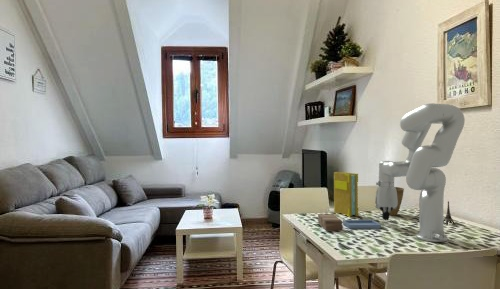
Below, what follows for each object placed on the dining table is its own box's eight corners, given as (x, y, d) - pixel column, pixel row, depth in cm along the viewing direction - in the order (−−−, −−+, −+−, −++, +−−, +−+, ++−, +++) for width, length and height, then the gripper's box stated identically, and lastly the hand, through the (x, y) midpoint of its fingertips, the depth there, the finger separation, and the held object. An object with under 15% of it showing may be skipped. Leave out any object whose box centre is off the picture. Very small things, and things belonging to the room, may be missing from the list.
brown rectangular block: (342, 230, 165) (342, 220, 165) (325, 230, 164) (325, 221, 164) (333, 222, 181) (333, 214, 181) (318, 223, 181) (318, 214, 181)
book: (358, 216, 197) (358, 173, 197) (349, 217, 195) (348, 174, 195) (340, 211, 213) (340, 171, 213) (331, 211, 211) (331, 172, 211)
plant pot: (372, 213, 206) (371, 187, 206) (391, 211, 211) (390, 185, 211) (390, 217, 192) (389, 190, 192) (409, 215, 197) (409, 188, 197)
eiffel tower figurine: (468, 225, 175) (468, 200, 175) (461, 228, 168) (461, 202, 169) (437, 220, 187) (437, 196, 187) (430, 223, 180) (430, 198, 180)
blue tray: (381, 228, 168) (381, 224, 168) (349, 229, 167) (349, 225, 167) (372, 223, 179) (372, 219, 179) (342, 223, 178) (342, 220, 178)
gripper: (375, 185, 170) (374, 221, 170) (404, 185, 170) (403, 221, 171) (369, 183, 177) (368, 217, 178) (397, 183, 178) (396, 217, 178)
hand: (385, 219), depth 174 cm, fingers closed
